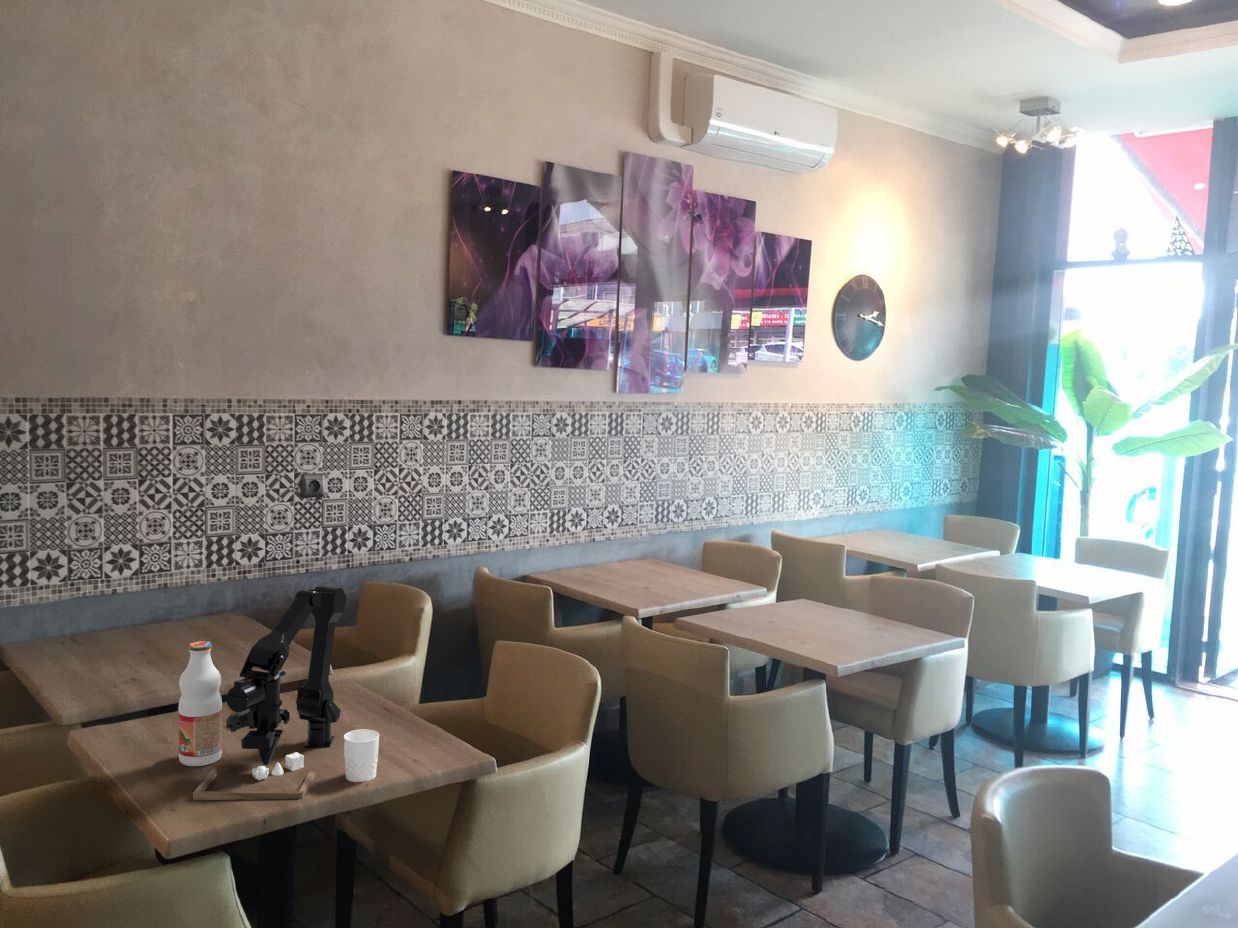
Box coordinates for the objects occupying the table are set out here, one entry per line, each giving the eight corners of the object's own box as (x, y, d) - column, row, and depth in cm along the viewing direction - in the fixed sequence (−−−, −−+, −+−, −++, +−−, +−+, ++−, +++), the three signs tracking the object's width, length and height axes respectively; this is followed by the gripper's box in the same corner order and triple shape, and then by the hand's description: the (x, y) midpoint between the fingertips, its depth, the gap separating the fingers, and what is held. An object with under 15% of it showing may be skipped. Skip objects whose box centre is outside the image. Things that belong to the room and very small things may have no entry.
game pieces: (296, 764, 237) (296, 751, 236) (304, 768, 235) (304, 755, 234) (249, 779, 227) (249, 766, 227) (257, 784, 225) (257, 770, 225)
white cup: (381, 770, 234) (382, 729, 233) (374, 785, 226) (375, 742, 225) (347, 770, 234) (348, 728, 233) (339, 784, 226) (340, 741, 225)
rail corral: (212, 774, 228) (212, 768, 228) (315, 775, 230) (315, 768, 230) (192, 799, 215) (192, 792, 215) (302, 799, 217) (302, 793, 217)
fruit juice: (215, 767, 233) (215, 649, 230) (173, 767, 232) (172, 649, 229) (226, 751, 242) (226, 638, 239) (186, 751, 241) (185, 637, 238)
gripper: (242, 685, 238) (242, 748, 240) (217, 712, 220) (217, 780, 221) (290, 685, 239) (289, 748, 241) (269, 712, 221) (268, 781, 222)
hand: (266, 764), depth 231 cm, fingers closed
